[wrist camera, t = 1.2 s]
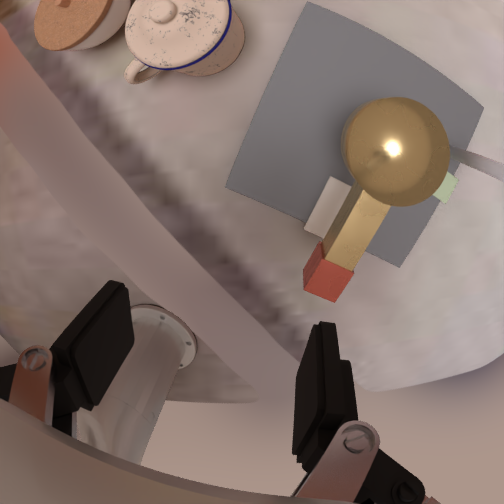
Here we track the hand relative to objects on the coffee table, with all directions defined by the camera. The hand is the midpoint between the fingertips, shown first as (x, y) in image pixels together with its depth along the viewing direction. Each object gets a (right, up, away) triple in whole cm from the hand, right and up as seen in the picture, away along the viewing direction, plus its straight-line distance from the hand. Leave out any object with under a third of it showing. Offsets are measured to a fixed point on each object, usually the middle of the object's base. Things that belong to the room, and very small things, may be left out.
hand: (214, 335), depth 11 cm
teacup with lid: (-5, +24, +15) cm, 29 cm away
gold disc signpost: (+10, +8, +12) cm, 17 cm away
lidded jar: (-16, +31, +14) cm, 38 cm away
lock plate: (+13, +15, +17) cm, 26 cm away
